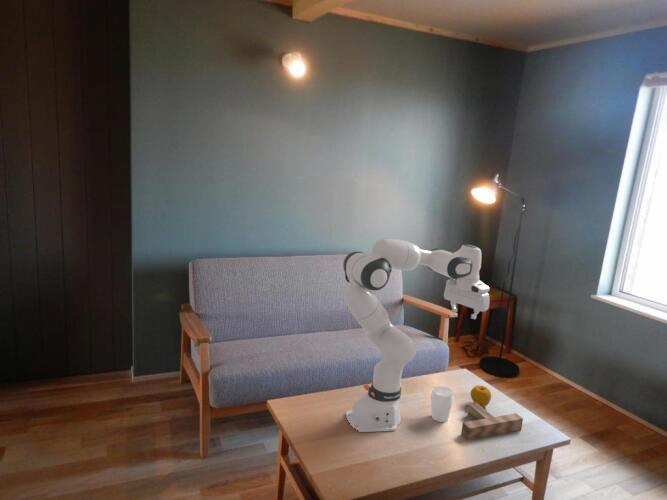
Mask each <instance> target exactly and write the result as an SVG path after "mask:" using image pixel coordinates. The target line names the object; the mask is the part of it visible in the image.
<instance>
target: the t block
mask: <svg viewBox="0 0 667 500" xmlns="http://www.w3.org/2000/svg"><path fill="white" fill-rule="evenodd" d="M467 416H468V417H469V418H470V419H472V420H469V421H468V420H467V421H464V422H462V424H461V425H462V426H461V433H460V435H461V436H463V438H465V439H466V440H467V441H471V440H474V439H475V440H476V439H480V438H484V437H485V438H486V437H491V436H496V435H501V434H502V435H503V434H507V433H511V432H516V431H521V430H522V427H523V421H524V418H523V417H522V416H520V415H519V414H518V413H516V412H515V413H510V414H504V415H496V416H494V415H493V414H491V413H490V412H489V411H487V410H486V409H485V407H481V406H480V405H479V404H478V403H474V402H473V403H469V404H468V408H467Z"/></svg>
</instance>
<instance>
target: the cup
mask: <svg viewBox="0 0 667 500" xmlns="http://www.w3.org/2000/svg"><path fill="white" fill-rule="evenodd" d="M454 395H455V392H454V390H452V389H451V388H449V387H446V386H444V385H443V386H442V385H441V386H440V385H436V386H433V388H432V390H431V395H430V403H431V405H430V407H431V409H430V410H431V418H432V420H434V421H435V422H439V423H446V422H447V421H448V420H449V418H450V414H451V411H452V406H453V404H454Z"/></svg>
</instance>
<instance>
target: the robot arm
mask: <svg viewBox="0 0 667 500" xmlns="http://www.w3.org/2000/svg"><path fill="white" fill-rule="evenodd" d="M342 265H343V271H344V277H345V281H346V282H347V283H349V285H348V286H347V287H346V288H345V289H344V290H343V300H344V302H345V304H346V306H347V308H348V309H349V312H350V313H351V314H352V316H353V317H354V318H355V320H356V321H357V322H358V323H359V325H360V326H361V327H362V329H363V330H364V332H365V334H366V336H367V338H368V340H369V341H370V343H371V344H372V345H373V346H374V347H375V348H376V349H377V350H379V351H380V352H381V355H382V356H381V360H380V361H379V362H377V363H375V366H374V368H373V378H372V383H371V385H369V384H368V383H365V384H364V385H363V389H365V390H366V391H368V392H367V393H365V394H364V395H362V396H361V397H360V398H358V399H357V400H355V401H354V403H353V404H352V409H350V410H348V411H346V414H345V418H347V419H346V421H347V420H348V421H347V423H348V422H349V423H350V424H349V423H348V424H349V425H350V426H352V427H353V428H352V427H351V428H352V429H354V428H355V429H356V430H355V429H354V430H355V431H357V430H358V431H357V432H360V433H369V432H370V433H371V432H372V433H373V432H375V433H376V432H395V431H397V428H398V426H399V425H400V423H401V422H402V418H401V417H402V416H401V410H400V399H401V394H402V386H401V385H402V384H401V383H402V377H403V370H404V368H405V366H406V364H408V363H410V362H412V360H413V359H414V358H415V356H416V353H417V345H416V344H415V341H414V340H412V338H411V337H410V336H409V335H407V333H405V332H403V331H402V330H400V329H398V328H397V327H396V326H395V325H394V324H392V322H391V321H390V319H389V312H388V311H387V310H386V309H385V307H384V305H382V303H381V302H380V301H379V299H378V297H377V296H376V295H375V293H374V291H380V290H382V289H383V288H385V287H386V286H387V284H388V282H389V281H390V276H391V273H392V269H395V270H400V271H413V270H414V269H416V268H417V267H418V266H419V265H422V266H425V267H426V268H428V269H429V270H431V272H435V273H439V274H441V275H443V276H445V277H448V278H449V279H447V280H446V282H445V288H444V293H443V298H444V300H446V301H448V302H449V301H450V306H451V312H453V313H457V312H458V310H459V309H458V307H457V305H456V304H459V305H462V306H464V307H467V308H470V309H473V312H474V313H471V314H470V319H472V320H476V319H477V315H478V314H479V313H480V312H486V311H488V310H489V308H490V294H489V293H488V292H489V291H490V287H489V285H487V284H485V283H484V282H483V281H482V280H480V270H481V268H482V250H481V248H480V247H478V246H475V245H472V244H462V245H461V247H459V249H458V250H457V251H454V252H451V251H447V250H445V249H443V248H441V247H440V248H439V247H437V248H433V249H428V250H427V249H422V248H420V247H419V246H418V245H416V244H414V243H413V242H409V241H407V240H402V239H395V238H380V239H378V240H376V241H375V242H374V244H373V246H372V249H371V252H370V253H368V254H366V253H364V252H362V251H353V252H350V253H348V254H347V255H346V256H345V257H344V260H343V264H342Z"/></svg>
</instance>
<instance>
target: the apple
mask: <svg viewBox="0 0 667 500" xmlns="http://www.w3.org/2000/svg"><path fill="white" fill-rule="evenodd" d="M470 397H471V398H470V399H471V400H472V402H473V403H478V404H479V405H480V406H481V407H483V408H486V407H487V405H489V403H490V402H491V400H492V399H491V398H492V393H491V391H490V389H489V388H488V387H487V386H484V385H475V386H474V387H472V388H471V390H470Z"/></svg>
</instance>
